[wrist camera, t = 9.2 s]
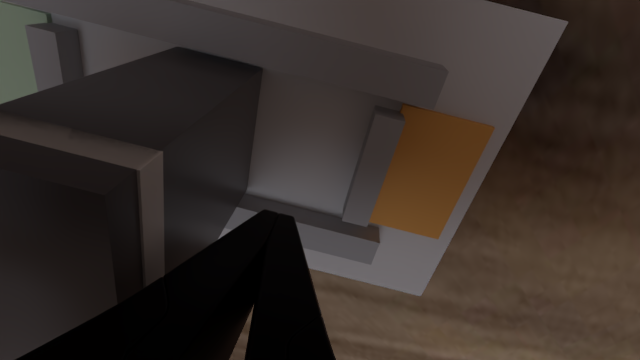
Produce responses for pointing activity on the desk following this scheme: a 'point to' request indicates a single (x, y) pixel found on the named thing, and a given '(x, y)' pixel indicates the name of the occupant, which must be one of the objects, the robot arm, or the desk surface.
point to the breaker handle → (116, 185)
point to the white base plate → (327, 105)
